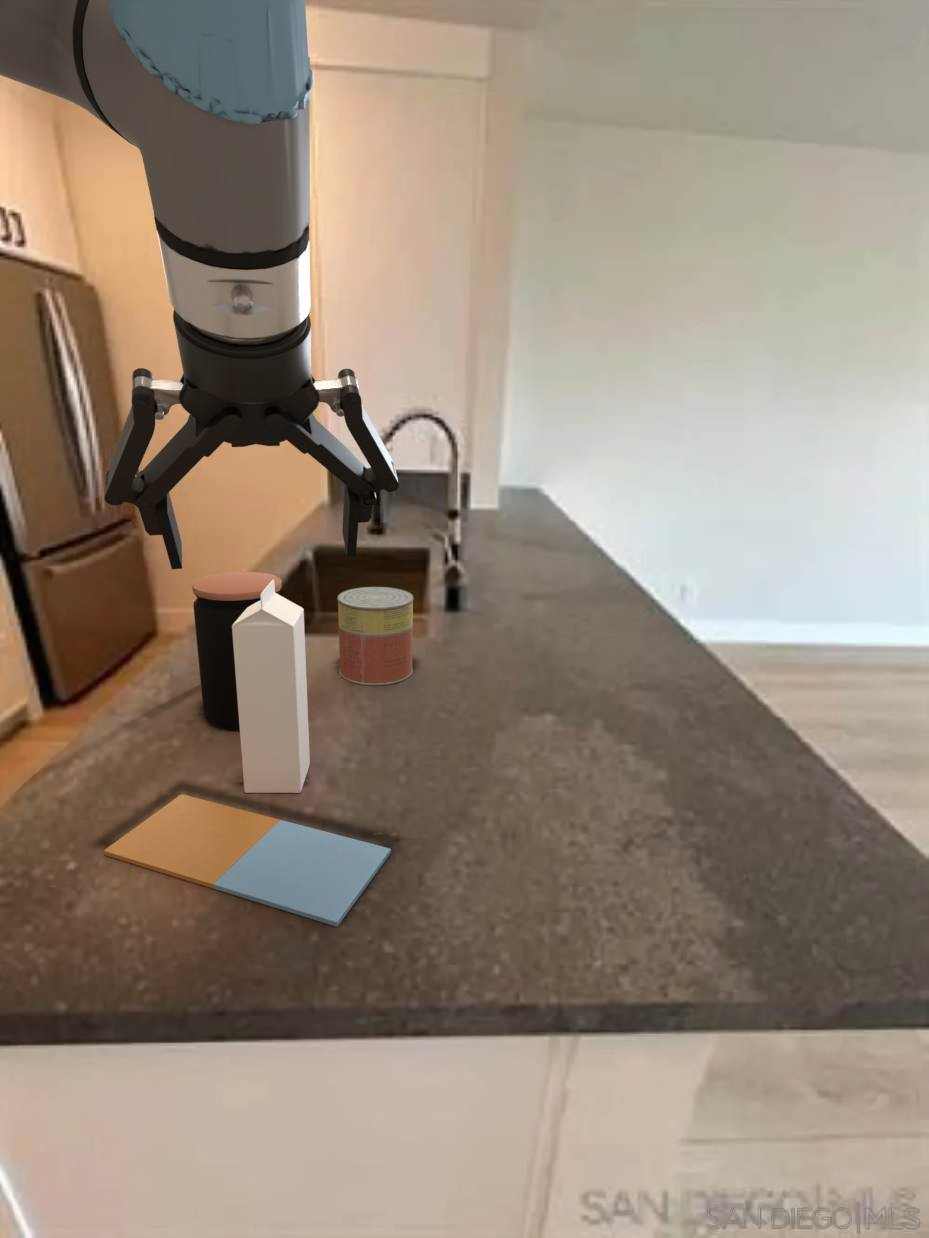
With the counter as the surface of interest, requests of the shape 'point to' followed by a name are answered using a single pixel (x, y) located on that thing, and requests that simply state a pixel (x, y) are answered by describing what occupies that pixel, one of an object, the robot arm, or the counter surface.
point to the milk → (272, 694)
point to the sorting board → (254, 857)
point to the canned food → (375, 635)
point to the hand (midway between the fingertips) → (265, 550)
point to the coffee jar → (223, 637)
